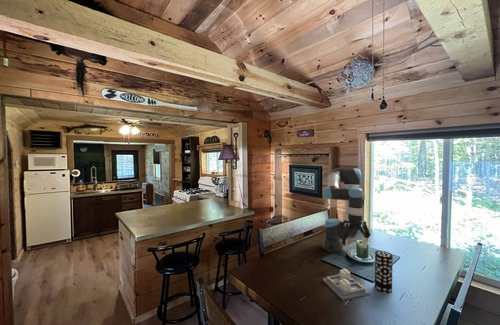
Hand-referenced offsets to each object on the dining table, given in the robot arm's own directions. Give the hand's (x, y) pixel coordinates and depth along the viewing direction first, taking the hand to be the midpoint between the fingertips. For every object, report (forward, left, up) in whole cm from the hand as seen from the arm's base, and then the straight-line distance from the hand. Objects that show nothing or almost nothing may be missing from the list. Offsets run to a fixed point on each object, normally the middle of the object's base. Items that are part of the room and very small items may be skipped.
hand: (354, 248), depth 131 cm
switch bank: (+10, +5, -19) cm, 22 cm away
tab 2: (+14, +9, -18) cm, 24 cm away
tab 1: (+7, 0, -18) cm, 19 cm away
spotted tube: (-9, +12, -19) cm, 24 cm away
